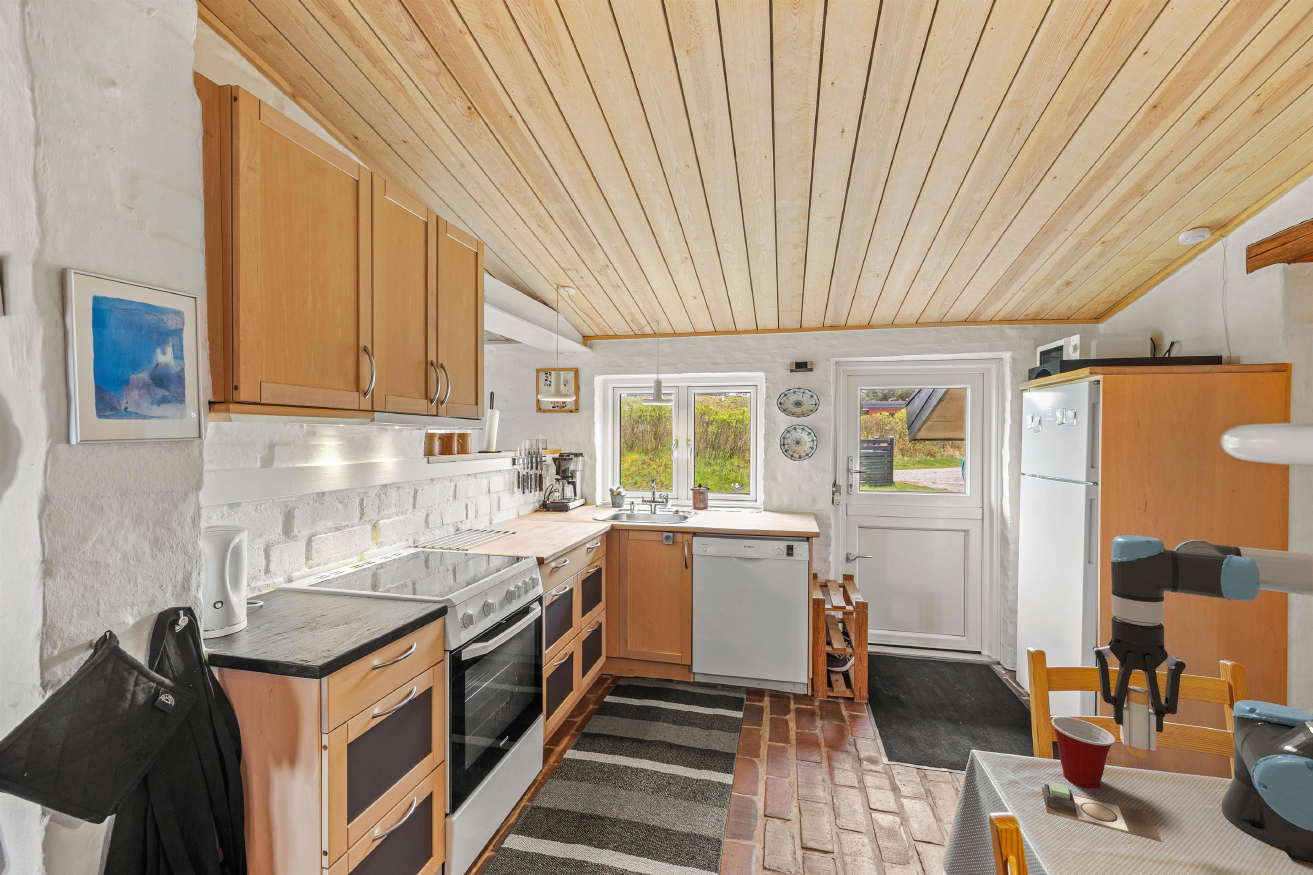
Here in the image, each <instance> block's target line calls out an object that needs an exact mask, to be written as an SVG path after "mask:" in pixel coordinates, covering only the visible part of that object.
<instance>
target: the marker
mask: <svg viewBox="0 0 1313 875" xmlns="http://www.w3.org/2000/svg"><path fill="white" fill-rule="evenodd" d="M1125 700H1126V707H1127V709H1128V711H1129V746H1127V745H1126V753H1127V754H1128V755H1130V756H1131V757H1135V758H1138V759H1141V760H1142V759H1143V760H1148V759H1150V757H1151V756H1150V755H1151V753H1150V751H1151V750H1150V748H1149V709H1150V697H1149V691H1148V689H1146V688H1144V687H1143V688H1142V687H1140V686H1136V685H1128V689H1127V694H1126V699H1125Z"/></svg>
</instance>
